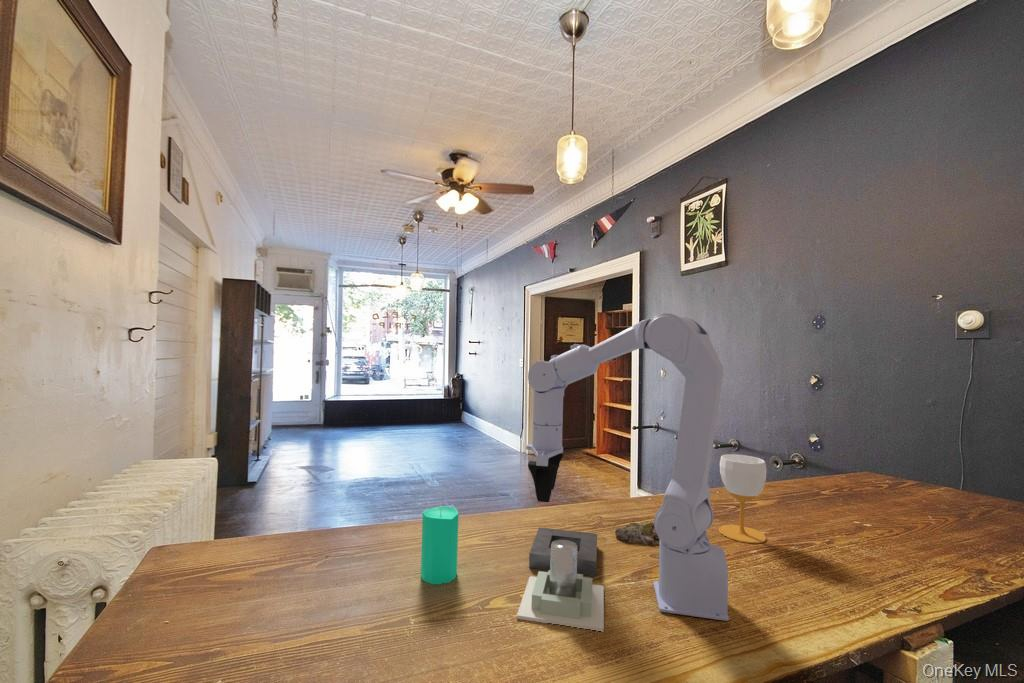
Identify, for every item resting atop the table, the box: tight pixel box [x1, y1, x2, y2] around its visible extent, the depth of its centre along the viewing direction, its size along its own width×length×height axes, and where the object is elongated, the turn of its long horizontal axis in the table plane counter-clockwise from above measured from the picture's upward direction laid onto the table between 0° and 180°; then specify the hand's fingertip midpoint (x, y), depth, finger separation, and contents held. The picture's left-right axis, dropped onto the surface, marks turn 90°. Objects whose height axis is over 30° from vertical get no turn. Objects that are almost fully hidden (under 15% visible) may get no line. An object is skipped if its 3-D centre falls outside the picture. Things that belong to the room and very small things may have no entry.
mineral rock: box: [614, 521, 660, 546], centre depth 89 cm, size 11×4×8 cm
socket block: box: [528, 527, 598, 577], centre depth 80 cm, size 12×12×2 cm
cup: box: [718, 453, 768, 544], centre depth 92 cm, size 9×9×16 cm
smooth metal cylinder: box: [549, 540, 577, 598], centre depth 65 cm, size 4×4×8 cm
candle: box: [420, 502, 460, 585], centre depth 72 cm, size 6×6×12 cm
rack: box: [516, 570, 605, 633], centre depth 65 cm, size 12×11×2 cm
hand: (545, 494), depth 82 cm, fingers open, 7 cm apart
